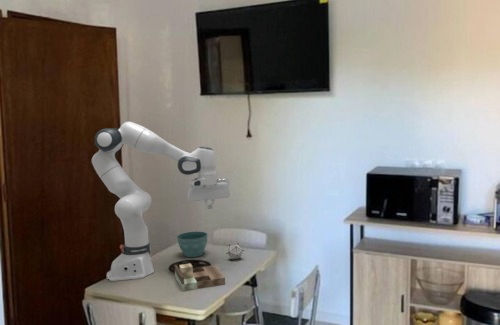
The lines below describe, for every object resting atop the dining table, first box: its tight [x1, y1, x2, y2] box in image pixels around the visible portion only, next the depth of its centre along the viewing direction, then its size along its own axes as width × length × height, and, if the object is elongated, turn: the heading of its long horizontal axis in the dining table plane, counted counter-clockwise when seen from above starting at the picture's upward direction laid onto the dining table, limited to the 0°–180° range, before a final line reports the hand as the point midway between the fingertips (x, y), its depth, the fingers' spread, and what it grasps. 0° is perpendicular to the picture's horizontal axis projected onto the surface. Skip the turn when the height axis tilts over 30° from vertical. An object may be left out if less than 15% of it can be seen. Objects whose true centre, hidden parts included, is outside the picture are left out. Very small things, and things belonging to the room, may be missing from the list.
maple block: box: [178, 262, 194, 279], centre depth 226 cm, size 5×5×5 cm
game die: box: [225, 242, 245, 262], centre depth 256 cm, size 9×8×10 cm
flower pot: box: [176, 231, 208, 258], centre depth 268 cm, size 16×16×11 cm
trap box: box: [173, 264, 226, 292], centre depth 228 cm, size 19×19×6 cm
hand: (209, 208), depth 244 cm, fingers closed
